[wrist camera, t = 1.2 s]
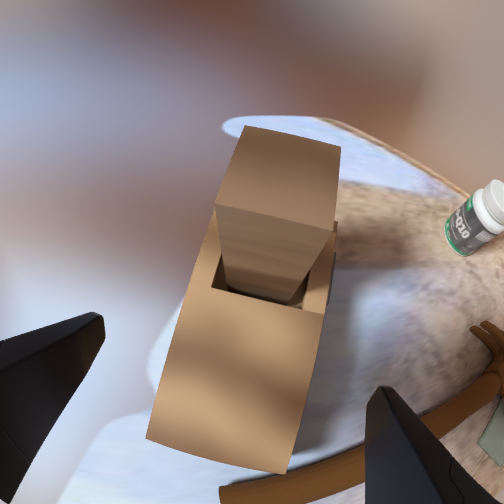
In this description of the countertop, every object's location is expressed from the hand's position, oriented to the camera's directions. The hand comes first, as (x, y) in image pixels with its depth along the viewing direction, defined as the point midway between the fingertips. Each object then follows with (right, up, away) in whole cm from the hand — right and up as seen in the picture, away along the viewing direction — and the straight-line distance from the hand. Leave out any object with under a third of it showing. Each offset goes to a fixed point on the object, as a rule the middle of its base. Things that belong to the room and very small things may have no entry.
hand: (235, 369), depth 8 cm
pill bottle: (+23, +5, +18) cm, 29 cm away
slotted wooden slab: (0, -3, +13) cm, 14 cm away
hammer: (+13, -11, +10) cm, 20 cm away
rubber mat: (+29, -15, +9) cm, 33 cm away
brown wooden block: (+1, +2, +14) cm, 15 cm away
